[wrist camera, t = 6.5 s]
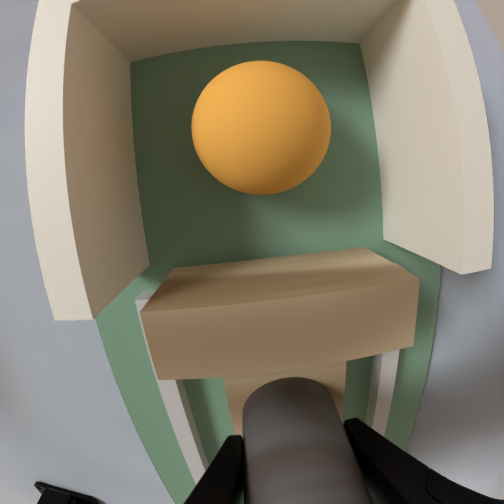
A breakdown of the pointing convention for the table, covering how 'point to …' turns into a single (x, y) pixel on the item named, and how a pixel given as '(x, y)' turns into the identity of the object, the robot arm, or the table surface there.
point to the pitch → (244, 204)
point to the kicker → (284, 357)
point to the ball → (261, 127)
